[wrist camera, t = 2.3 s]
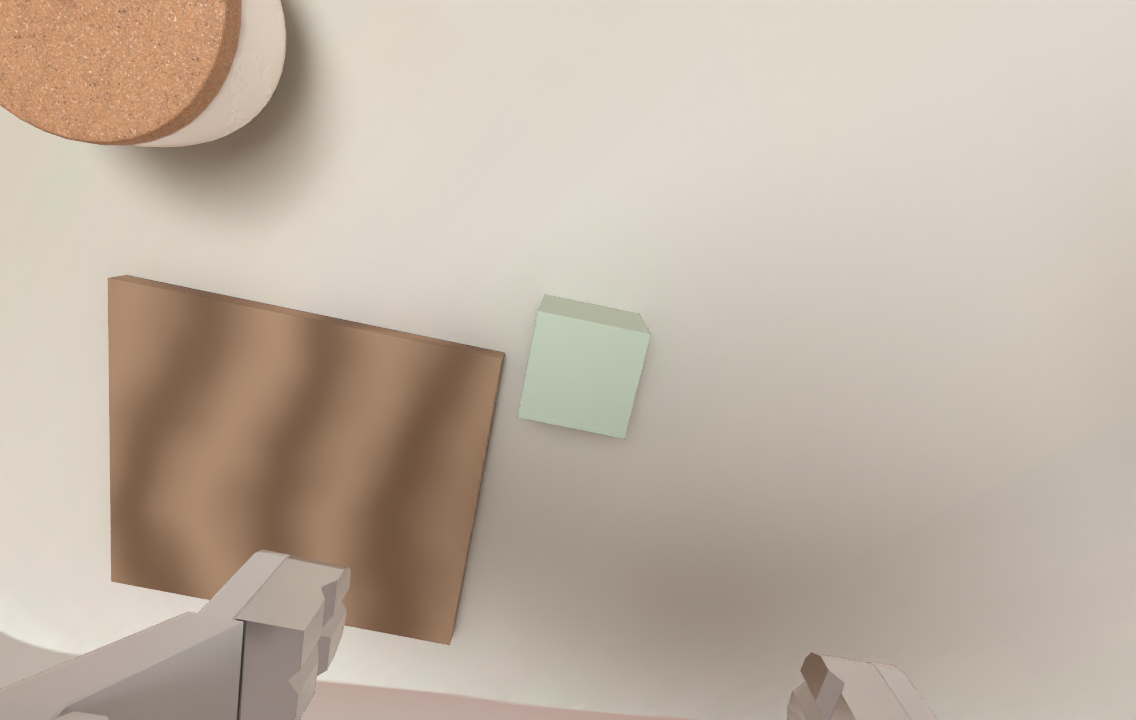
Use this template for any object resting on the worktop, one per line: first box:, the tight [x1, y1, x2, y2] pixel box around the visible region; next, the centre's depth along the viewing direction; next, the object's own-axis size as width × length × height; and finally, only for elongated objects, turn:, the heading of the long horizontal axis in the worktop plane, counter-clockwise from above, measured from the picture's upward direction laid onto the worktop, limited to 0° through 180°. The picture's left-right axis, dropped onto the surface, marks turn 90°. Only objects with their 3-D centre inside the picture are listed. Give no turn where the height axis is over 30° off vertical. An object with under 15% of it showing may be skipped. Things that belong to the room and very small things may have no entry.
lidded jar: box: [0, 0, 286, 147], centre depth 22 cm, size 11×11×9 cm
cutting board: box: [108, 275, 505, 645], centre depth 31 cm, size 20×18×1 cm
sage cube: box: [518, 294, 651, 439], centre depth 27 cm, size 5×5×5 cm
